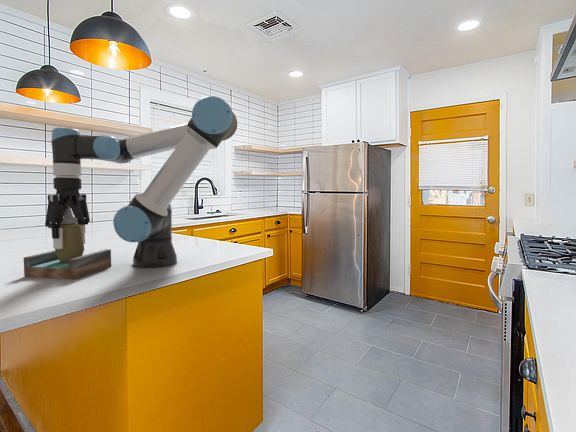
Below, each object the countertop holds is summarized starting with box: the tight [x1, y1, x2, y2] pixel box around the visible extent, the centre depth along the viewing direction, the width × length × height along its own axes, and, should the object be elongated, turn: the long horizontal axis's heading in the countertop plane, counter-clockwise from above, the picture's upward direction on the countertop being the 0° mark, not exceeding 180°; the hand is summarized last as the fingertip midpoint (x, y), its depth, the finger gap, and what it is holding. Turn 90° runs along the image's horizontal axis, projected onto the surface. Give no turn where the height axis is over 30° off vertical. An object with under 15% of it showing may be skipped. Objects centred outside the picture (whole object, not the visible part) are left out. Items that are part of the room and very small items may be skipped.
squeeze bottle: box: [54, 207, 85, 263], centre depth 107 cm, size 8×8×18 cm
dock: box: [23, 248, 112, 280], centre depth 108 cm, size 17×17×6 cm
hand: (70, 246), depth 108 cm, fingers open, 9 cm apart
